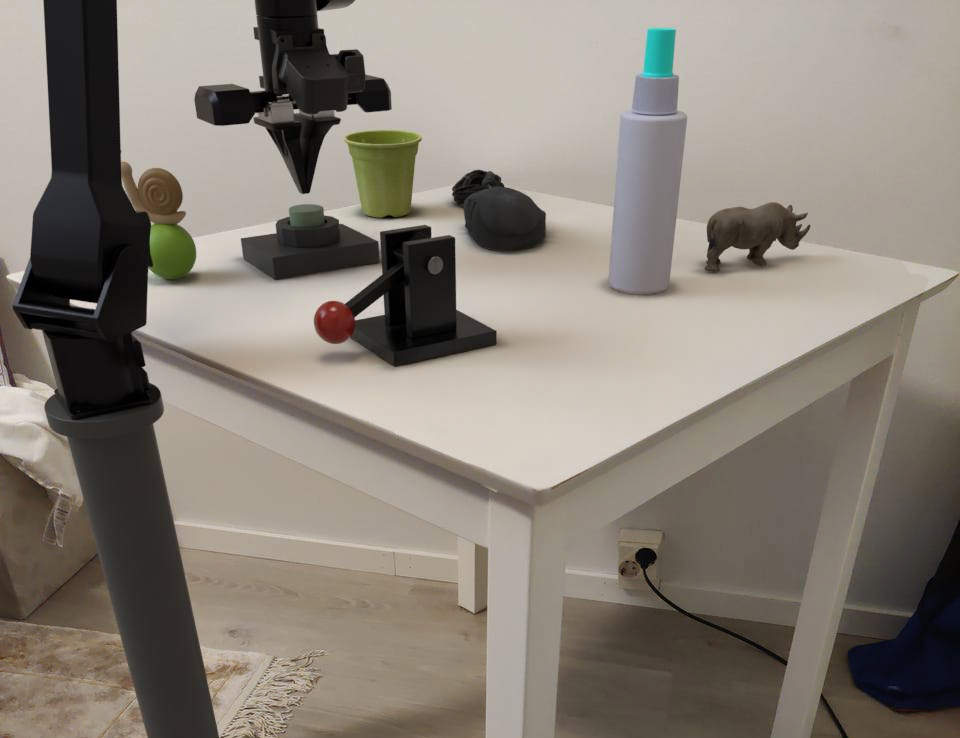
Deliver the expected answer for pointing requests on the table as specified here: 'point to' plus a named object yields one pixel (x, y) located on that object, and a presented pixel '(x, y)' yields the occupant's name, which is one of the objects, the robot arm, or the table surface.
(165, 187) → the snail figurine
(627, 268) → the spray bottle
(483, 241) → the dark rounded piece
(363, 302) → the lever
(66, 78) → the robot arm
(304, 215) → the power button
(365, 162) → the plant pot
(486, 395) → the table surface
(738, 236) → the rhino figurine
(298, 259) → the box
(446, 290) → the switch bracket
